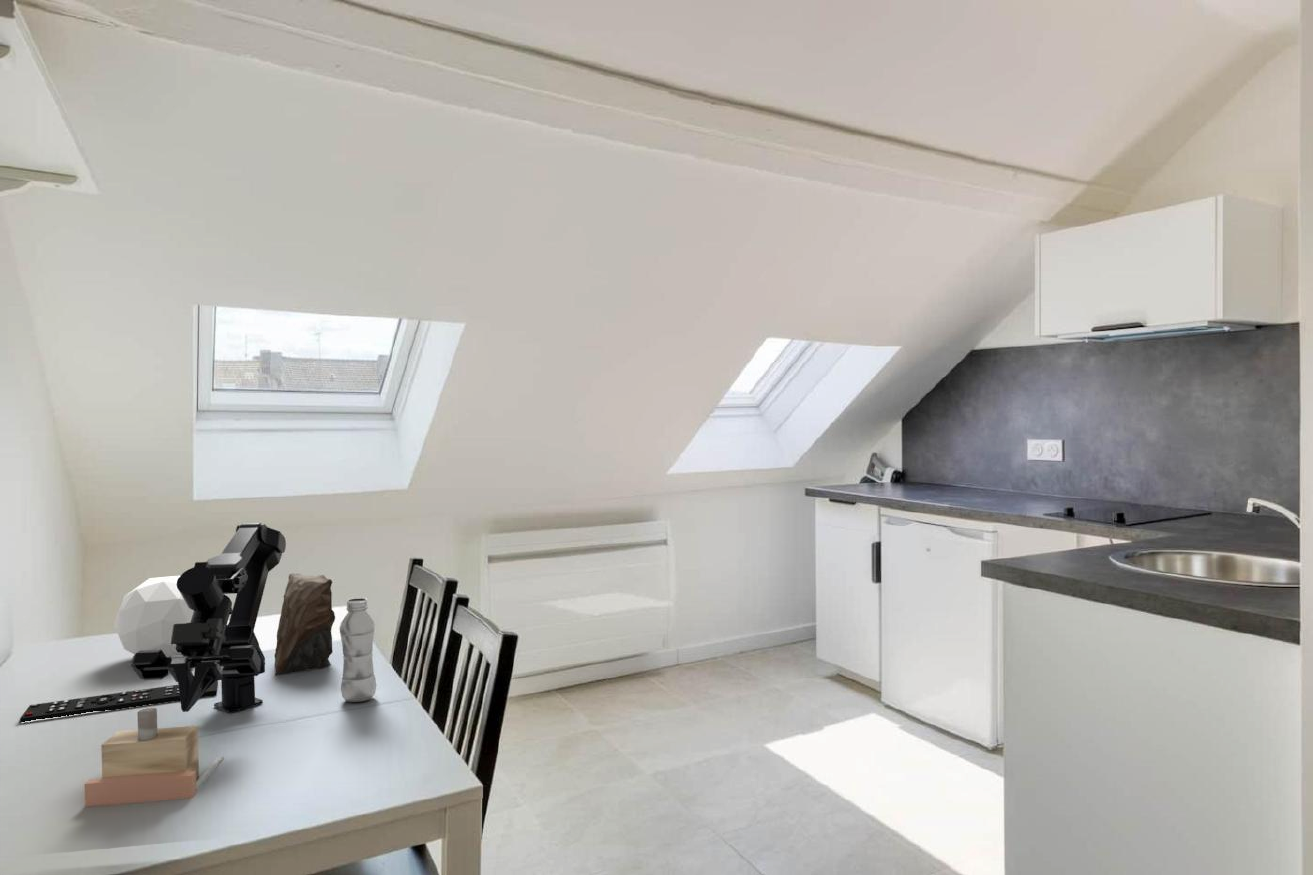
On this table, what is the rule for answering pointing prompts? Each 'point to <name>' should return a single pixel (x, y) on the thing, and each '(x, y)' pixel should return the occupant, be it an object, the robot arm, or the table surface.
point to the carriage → (150, 749)
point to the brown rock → (305, 625)
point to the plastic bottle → (357, 652)
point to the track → (145, 787)
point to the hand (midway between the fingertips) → (184, 710)
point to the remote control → (108, 702)
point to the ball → (152, 616)
